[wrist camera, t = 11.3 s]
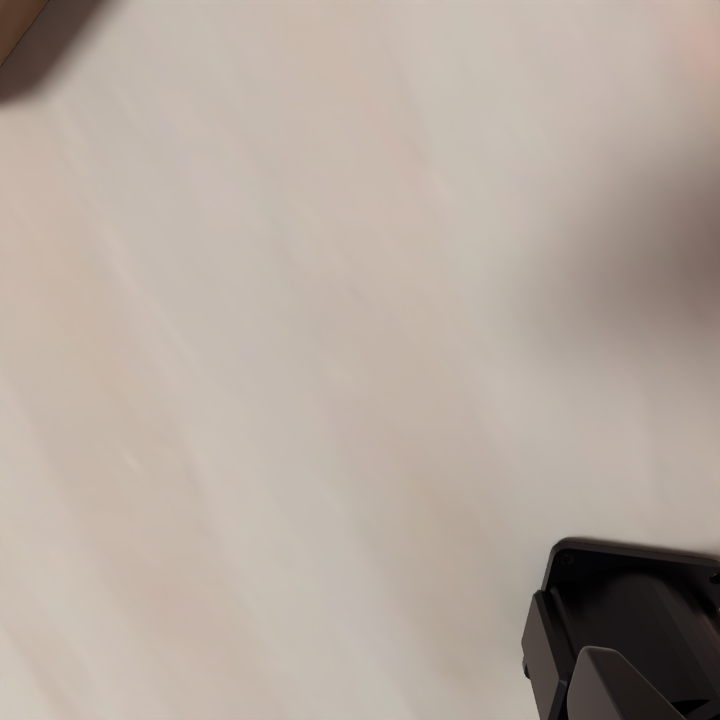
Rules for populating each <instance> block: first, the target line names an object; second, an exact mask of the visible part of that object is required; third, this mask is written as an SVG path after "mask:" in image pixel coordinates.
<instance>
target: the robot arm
mask: <svg viewBox="0 0 720 720" xmlns="http://www.w3.org/2000/svg"><path fill="white" fill-rule="evenodd" d="M564 554H570V556H569V557H567V558H561V556H562V555H564ZM714 573H717V574H716V575H715V576H713V577H710V576H711V575H712V574H714ZM719 608H720V562H719V561H715V560H708V559H700V558H693V557H685V556H677V555H669V554H661V553H654V552H646V551H638V550H630V549H622V548H614V547H607V546H599V545H591V544H583V543H575V542H568V541H565V542H559V543H557V544H556V545H554V546H553V548H552V549H551V552H550V556H549V560H548V564H547V568H546V572H545V576H544V580H543V583H542V587H541V590H538V591H536V592H535V593H534V594H533V597H532V601H531V605H530V609H529V613H528V617H527V621H526V625H525V629H524V633H523V637H522V642H521V643H522V648H523V652H524V658H523V662H522V666H523V670H524V674H525V676H526V677H527V678H528V679H530V680H531V684H532V688H533V692H534V696H535V700H536V704H537V709H538V713H539V717H540V720H720V611H719Z"/></svg>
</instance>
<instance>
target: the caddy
mask: <svg viewBox="0 0 720 720" xmlns="http://www.w3.org/2000/svg"><path fill="white" fill-rule="evenodd" d="M47 2H48V0H0V66H1V65H2V63H3V62H4V61H5V59H6V58H7V56H8V55H9V54H10V52H11V51H12V50H13V48H14V47H15V45H16V44H17V43H18V41H19V40H20V39H21V37H22V36H23V35H24V33H25V32H26V30H27V29H28V28H29V26H30V25H31V24H32V22H33V21H34V20H35V18H36V17H37V15H38V14H39V13H40V11H41V10H42V9H43V7H44V6H45V4H46V3H47Z"/></svg>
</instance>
